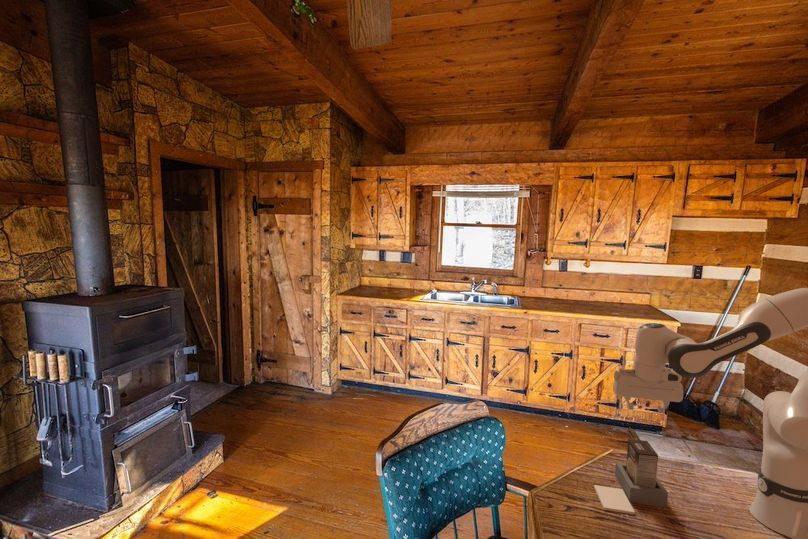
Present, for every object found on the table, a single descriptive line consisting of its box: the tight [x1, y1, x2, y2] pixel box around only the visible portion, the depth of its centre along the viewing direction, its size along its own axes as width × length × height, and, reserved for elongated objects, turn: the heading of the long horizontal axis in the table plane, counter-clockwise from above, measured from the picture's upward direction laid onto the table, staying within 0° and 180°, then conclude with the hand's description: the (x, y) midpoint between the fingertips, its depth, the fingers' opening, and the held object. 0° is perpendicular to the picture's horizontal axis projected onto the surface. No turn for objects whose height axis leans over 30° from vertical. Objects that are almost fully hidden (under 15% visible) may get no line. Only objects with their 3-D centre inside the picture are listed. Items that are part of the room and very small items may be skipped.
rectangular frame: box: [614, 461, 669, 508], centre depth 128 cm, size 11×14×5 cm
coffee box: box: [625, 438, 659, 488], centre depth 127 cm, size 9×6×16 cm
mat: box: [593, 484, 636, 516], centre depth 123 cm, size 9×11×1 cm
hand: (645, 410), depth 125 cm, fingers open, 8 cm apart
